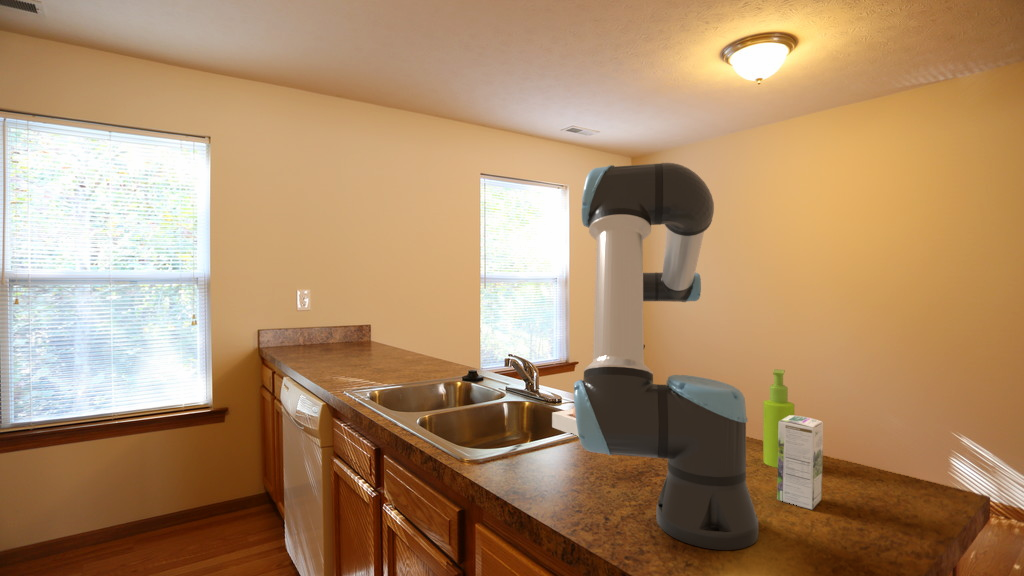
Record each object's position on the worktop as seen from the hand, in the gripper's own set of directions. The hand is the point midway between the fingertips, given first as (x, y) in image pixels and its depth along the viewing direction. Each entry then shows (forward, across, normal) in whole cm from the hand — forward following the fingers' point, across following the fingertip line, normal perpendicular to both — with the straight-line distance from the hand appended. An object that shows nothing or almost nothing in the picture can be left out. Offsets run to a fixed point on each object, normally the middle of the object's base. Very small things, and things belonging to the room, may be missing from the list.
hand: (626, 403), depth 142 cm
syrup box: (+5, -15, -54) cm, 56 cm away
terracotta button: (+2, -17, 0) cm, 17 cm away
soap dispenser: (+5, +1, -42) cm, 42 cm away
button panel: (+5, -9, 0) cm, 10 cm away
